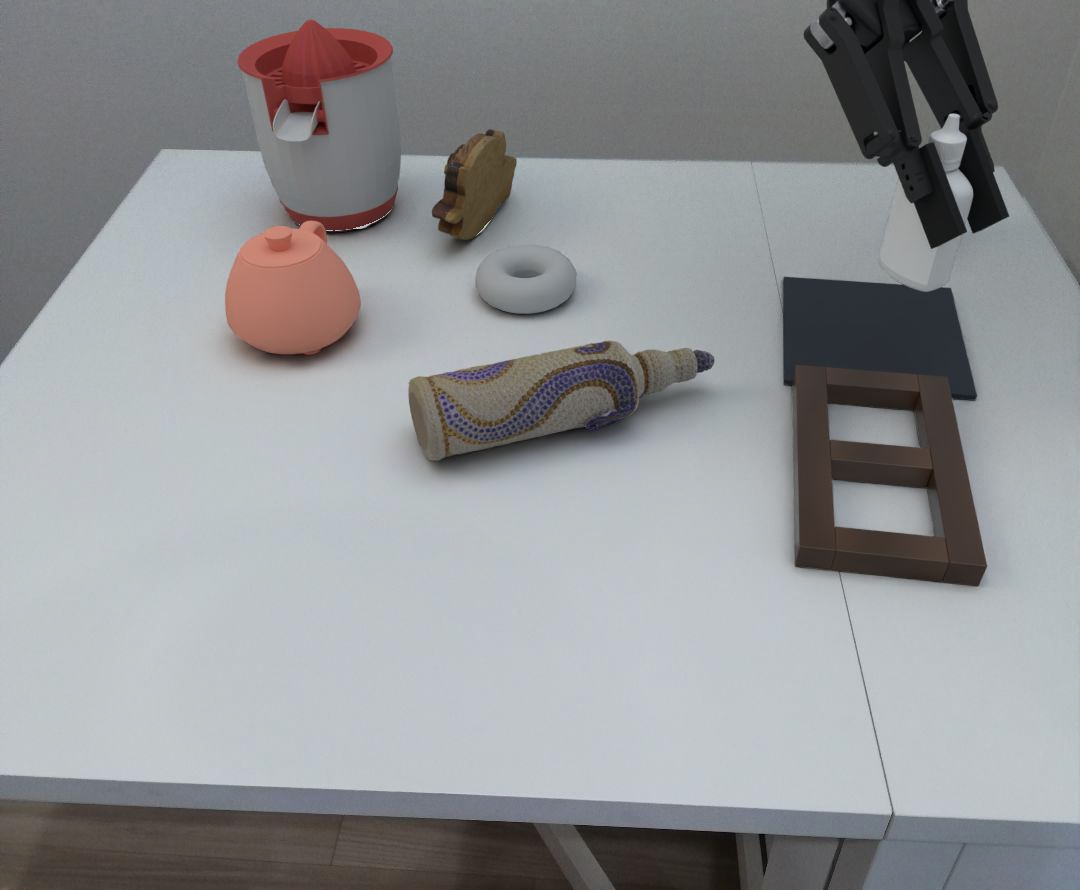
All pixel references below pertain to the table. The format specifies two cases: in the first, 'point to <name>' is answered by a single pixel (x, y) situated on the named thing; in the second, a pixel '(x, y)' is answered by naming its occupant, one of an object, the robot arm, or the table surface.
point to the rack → (883, 478)
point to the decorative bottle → (541, 394)
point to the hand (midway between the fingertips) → (969, 232)
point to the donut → (525, 279)
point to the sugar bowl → (290, 291)
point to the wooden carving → (475, 185)
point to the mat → (874, 330)
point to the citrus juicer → (326, 122)
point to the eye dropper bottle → (904, 232)
